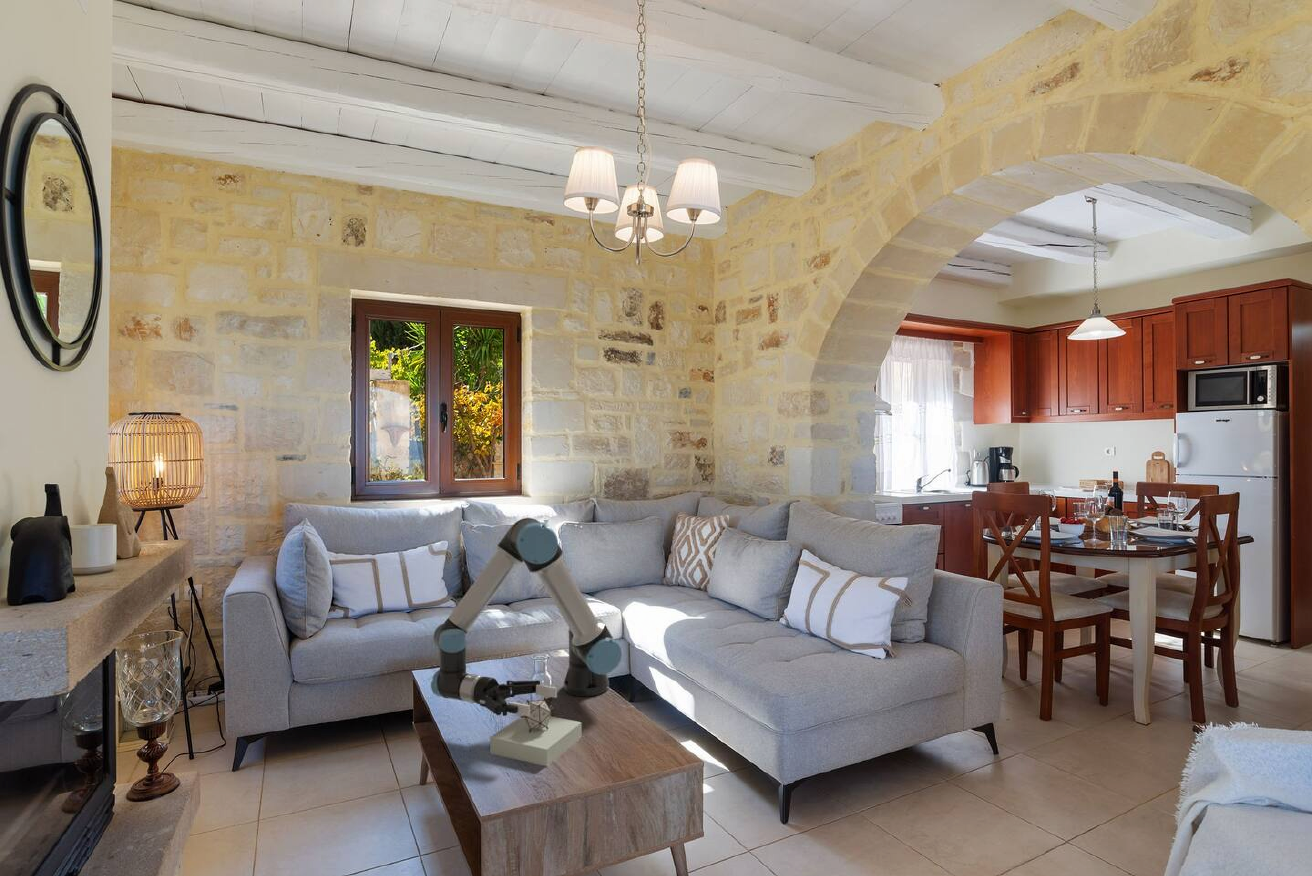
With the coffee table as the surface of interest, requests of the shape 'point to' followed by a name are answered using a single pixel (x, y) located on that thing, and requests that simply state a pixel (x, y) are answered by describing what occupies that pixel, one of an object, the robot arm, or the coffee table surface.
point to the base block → (536, 740)
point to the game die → (538, 715)
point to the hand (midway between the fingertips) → (543, 701)
